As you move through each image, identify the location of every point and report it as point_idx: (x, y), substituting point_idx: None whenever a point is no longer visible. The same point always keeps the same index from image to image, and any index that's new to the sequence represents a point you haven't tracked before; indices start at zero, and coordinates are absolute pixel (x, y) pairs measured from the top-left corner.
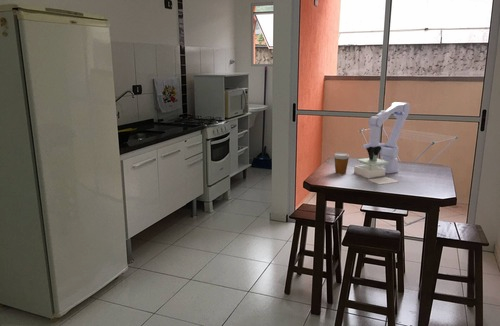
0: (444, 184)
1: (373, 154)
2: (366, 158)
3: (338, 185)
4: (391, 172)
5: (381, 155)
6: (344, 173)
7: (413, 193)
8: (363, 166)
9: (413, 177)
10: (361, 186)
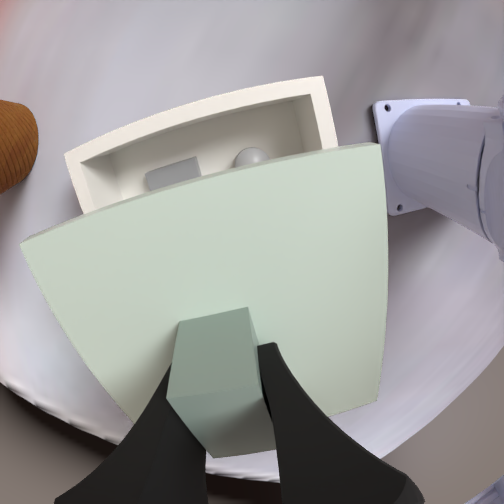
0: (453, 393)
1: (252, 410)
2: (174, 204)
3: (14, 376)
4: (426, 206)
5: (500, 115)
6: (21, 180)
7: (278, 471)
8: (184, 123)
9: (455, 313)
10: (101, 413)
